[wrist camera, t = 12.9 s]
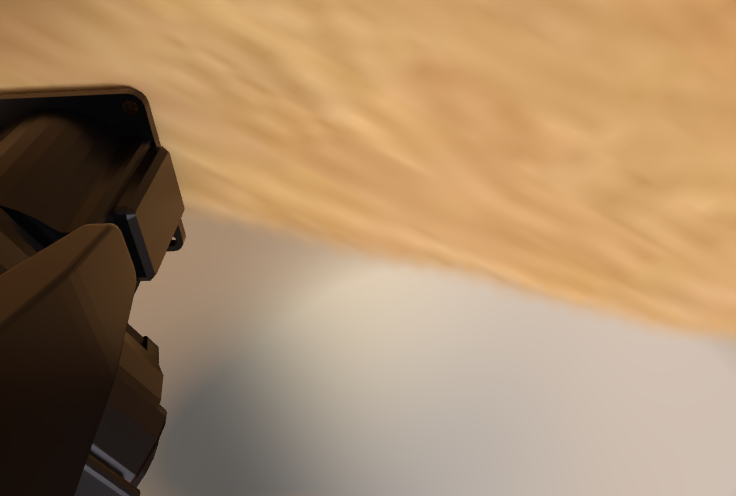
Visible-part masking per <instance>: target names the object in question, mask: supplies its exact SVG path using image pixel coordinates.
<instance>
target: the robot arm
mask: <svg viewBox="0 0 736 496" xmlns="http://www.w3.org/2000/svg"><path fill="white" fill-rule="evenodd" d="M127 100H129V101H133V102H134V103H136V105H137V107H138V109H137V110H135V109H131V108H130V107H128V105H127V103H126V101H127ZM183 212H184V205H183V201H182V197H181V194H180V190H179V186H178V183H177V179H176V175H175V172H174V168H173V164H172V161H171V157H170V153H169V152H168V151H167V150H166V149H165V148H164V147H163V146H161V145H160V141H159V138H158V134H157V130H156V127H155V123H154V120H153V116H152V113H151V109H150V105H149V102H148V100H147V98H146V96H145V95H144V94H143V93H142V92H140V91H138V90H136V89H130V88H129V89H107V90H86V91H64V92H42V93H20V94H0V496H140V490H139V489H137V488H136V487H137V486H138V484H139V483H140V482H141V480H142V479H143V477H144V476H145V474H146V472H147V470H148V468H149V466H150V464H151V462H152V460H153V458H154V455H155V452H156V449H157V446H158V442H159V439H160V436H161V434H162V431H163V429H164V426H165V423H166V415H167V412H166V410H165V409H164V408H163V407H162V406H161V405H160V401H161V392H162V383H163V374H162V371H161V368H160V366H159V348H158V346H157V345H156V344H155V343H153V341H151V340H150V339H149V338H148V337H147V336H144V337H142V336H141V335H140V334H139V333H138V332H137V331H136V330H134V329H133V328H132V327H131V326H130V325H129V324H128V319H129V314H130V310H131V306H132V301H133V296H134V294H135V292H136V290H137V288H138V286H139V283H140V281H151V279H152V278H153V277H154V276H155V275H156V274H157V272H158V269H159V267H160V265H161V262H162V260H163V258H164V256H165V253H166V251H176V250H179V249H180V248H181V247H182V246H183V243H184V241H185V238H186V235H185V231H184V227H183V224H182V220H181V217H182V214H183ZM172 237H175V238H176V240H172Z"/></svg>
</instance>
